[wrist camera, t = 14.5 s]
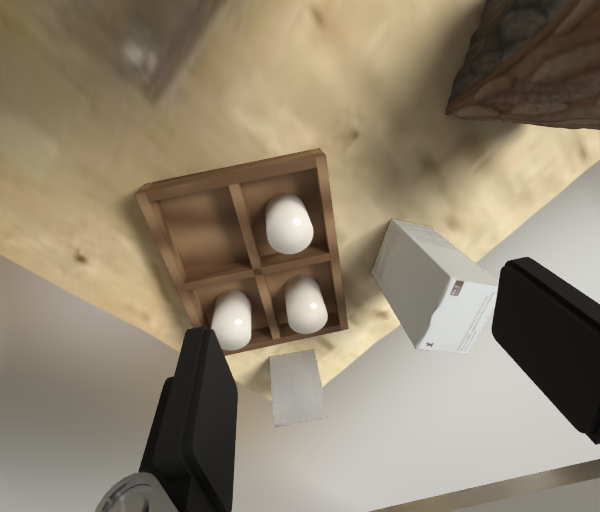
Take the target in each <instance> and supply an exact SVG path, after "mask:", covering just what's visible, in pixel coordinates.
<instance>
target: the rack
mask: <svg viewBox="0 0 600 512" xmlns="http://www.w3.org/2000/svg"><path fill="white" fill-rule="evenodd" d="M281 192H290V193H293V194H295V195H297V196H298V197H300V198H301V200H302V201H303V203H304V205H305V208H306V211H307V213H308V216H309V218H310V221H311V224H312V226H313V238H312V241H311V243H310V244H309V245H308V247H307V248H305V249H304V250H303V251H301V252H299V253H296V254H283V253H280V252H278V251H276V250H275V249H273V248H272V247H271V245H270V244H269V242H268V239H267V231H266V218H265V208H266V204H267V202H268V201H269V200H270V198H271V197H273V196H274V195H276V194H278V193H281ZM135 196H136V199H137V201H138V203H139V205H140V208H141V210H142V212H143V214H144V217H145V219H146V221H147V223H148V226H149V228H150V230H151V233H152V235H153V237H154V239H155V242H156V244H157V246H158V248H159V251H160V253H161V255H162V257H163V260H164V262H165V264H166V266H167V269H168V271H169V273H170V276H171V278H172V280H173V282H174V285H175V287H176V289H177V291H178V294H179V296H180V298H181V300H182V303H183V305H184V307H185V309H186V312H187V314H188V316H189V318H190V321H191V323H192V325H193V328H197V327H202V326H206V327H207V328H208V330H210V329H211V326H212V320H213V314H214V308H215V302H216V299H217V297H218V295H219V294H220V293H222V292H223V291H225V290H229V289H238V290H241V291H244V292H245V293H247V294H248V295H249V297H250V299H251V303H252V305H251V339H250V341H249V342H248V344H247V345H246V346H244V347H242V348H240V349H237V350H223V349H222V351H223V354H224V356H226V355H230V354H235V353H240V352H244V351H249V350H253V349H258V348H263V347H267V346H272V345H277V344H281V343H286V342H290V341H295V340H300V339H304V338H309V337H313V336H318V335H323V334H327V333H332V332H337V331H341V330H346V329H348V322H347V314H346V307H345V299H344V291H343V284H342V276H341V269H340V261H339V253H338V246H337V238H336V231H335V223H334V215H333V208H332V200H331V192H330V185H329V177H328V170H327V162H326V155H325V154H324V153H323V152H322V150H321V149H320V148H318V149H313V150H308V151H303V152H298V153H293V154H288V155H284V156H279V157H274V158H269V159H264V160H259V161H254V162H249V163H245V164H240V165H235V166H230V167H225V168H220V169H215V170H210V171H206V172H201V173H196V174H191V175H186V176H181V177H176V178H171V179H167V180H162V181H157V182H152V183H147V184H144V185H143V186H142V187H141V189H140V190H139V191H138V192H137V193H136V194H135ZM298 274H307V275H310V276H312V277H314V278H315V279H316V280H317V282H318V284H319V288H320V291H321V294H322V298H323V301H324V304H325V308H326V311H327V314H328V319H327V322H326V324H325V325H324V326H323V327H322V328H321V329H320V330H318V331H317V332H314V333H310V334H301V333H298V332H295V331H294V330H293V329H291V327H290V326H289V323H288V317H287V310H286V302H285V295H284V286H285V284H286V282H287V281H288V280H289V279H290V278H291V277H293V276H295V275H298Z"/></svg>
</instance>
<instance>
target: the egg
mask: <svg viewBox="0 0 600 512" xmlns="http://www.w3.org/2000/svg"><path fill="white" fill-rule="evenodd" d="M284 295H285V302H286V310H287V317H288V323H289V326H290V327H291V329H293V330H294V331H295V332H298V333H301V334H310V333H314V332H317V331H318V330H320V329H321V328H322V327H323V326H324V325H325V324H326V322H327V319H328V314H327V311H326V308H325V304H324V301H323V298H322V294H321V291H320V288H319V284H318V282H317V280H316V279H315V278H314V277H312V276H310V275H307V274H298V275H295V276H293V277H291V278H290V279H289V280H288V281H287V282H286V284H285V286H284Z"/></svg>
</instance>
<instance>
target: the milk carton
mask: <svg viewBox="0 0 600 512" xmlns="http://www.w3.org/2000/svg"><path fill="white" fill-rule="evenodd" d="M269 358H270V377H271V393H272V403H273V412H274V423H275V427H279V426H285V425H291V424H296V423H302V422H308V421H313V420H318V419H324V418H327V412H326V407H325V401H324V396H323V391H322V385H321V380H320V375H319V370H318V366H317V361H316V356H315V352H314V349H312V350H306V351H300V352H294V353H289V354H283V355H277V356H271V357H269Z"/></svg>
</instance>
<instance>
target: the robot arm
mask: <svg viewBox="0 0 600 512" xmlns="http://www.w3.org/2000/svg"><path fill="white" fill-rule="evenodd" d="M492 334H493V336H494V338H495V340H496V341H497V342H498V343H499V344H500V345H501V346H502V348H503V349H504V350H505V351H506V352H507V353H508V354H509V355H510V356H511V357H512V358H513V360H514V361H515V362H516V363H517V364H518V365H519V366H520V367H521V369H522V370H523V371H524V372H525V373H526V374H527V375H528V376H529V377H530V379H531V380H532V381H533V382H534V383H535V384H536V385H537V386H538V387H539V389H541V391H542V392H543V393H544V394H545V395H546V396H547V397H548V398H549V400H550V401H551V402H552V403H553V404H554V405H555V406H556V407H557V408H558V410H559V411H560V412H561V413H562V414H563V415H564V416H565V417H566V418H567V420H568V421H569V422H570V423H571V424H572V425H573V426H574V427H575V428H576V429H577V430H578V431H579V432H581V433H585V434H586V435H587V436H588V437H589V438H590V439H591V440H592V441H593V442H594V443H595V444H600V304H598V303H597V302H595V301H594V300H592V299H591V298H589V297H588V296H586V295H585V294H583V293H582V292H580V291H579V290H578V289H576V288H575V287H573V286H571V285H570V284H569V283H567V282H566V281H564V280H563V279H561V278H559V277H558V276H557V275H555V274H554V273H552V272H551V271H549V270H548V269H546V268H545V267H543V266H541V265H540V264H539V263H537V262H536V261H534V260H533V259H531V258H529V257H524V258H519V259H515V260H510V261H507V262H506V264H505V266H504V267H502V269H501V272H500V278H499V285H498V291H497V298H496V304H495V310H494V317H493V323H492ZM237 401H238V392H237V386H236V383H235V381H234V378H233V376H232V374H231V371H230V369H229V366H228V364H227V361H226V359H225V356H224V354H223V351H222V349H221V346H220V344H219V341H218V339H217V336H216V334H215V332H214V330H213V329H210V330H208V328H207V327H206V326H202V327H197V328H193V329H188V330H187V331H186V333H185V337H184V341H183V344H182V348H181V352H180V356H179V360H178V364H177V367H176V371H175V375H174V377H169V378H167V380H166V381H165V383H164V386H163V389H162V392H161V396H160V399H159V403H158V406H157V410H156V413H155V417H154V420H153V424H152V427H151V430H150V434H149V437H148V441H147V445H146V448H145V451H144V454H143V458H142V461H141V465H140V468H139V472H138V473H134V474H131V475H129V476H127V477H124V478H123V479H122V480H120V481H119V482H117V483H116V484H115V485H114V486H113V487H112V488H111V489H110V490H109V491H108V492H107V493H106V494H105V495H104V497H103V498H102V500H101V501H100V503H99V504H98V506H97V508H96V511H95V512H231V510H232V499H233V479H234V478H233V477H234V460H235V459H234V458H235V440H236V420H237ZM370 512H600V459H598V460H593V461H589V462H585V463H580V464H576V465H571V466H567V467H562V468H558V469H553V470H549V471H544V472H540V473H535V474H531V475H526V476H522V477H517V478H513V479H509V480H504V481H500V482H495V483H491V484H487V485H482V486H478V487H474V488H469V489H465V490H460V491H456V492H452V493H447V494H443V495H439V496H434V497H430V498H426V499H421V500H417V501H412V502H408V503H404V504H400V505H395V506H391V507H387V508H383V509H378V510H374V511H370Z"/></svg>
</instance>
